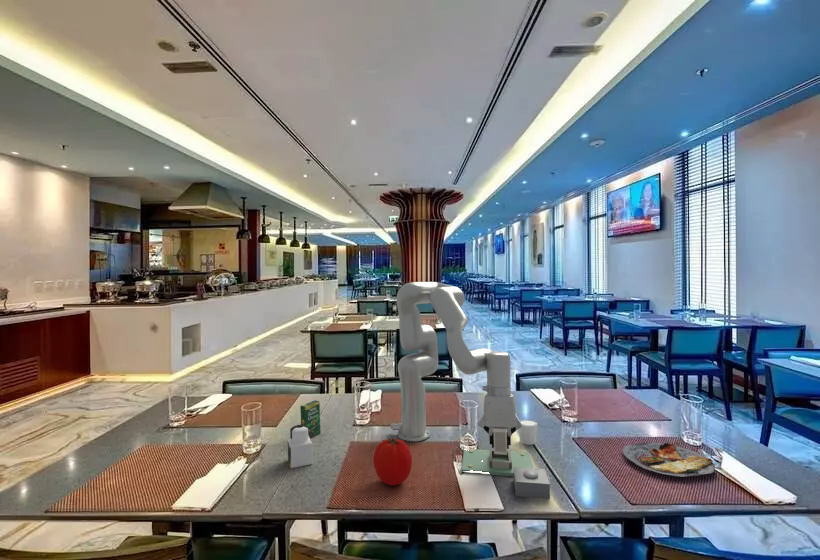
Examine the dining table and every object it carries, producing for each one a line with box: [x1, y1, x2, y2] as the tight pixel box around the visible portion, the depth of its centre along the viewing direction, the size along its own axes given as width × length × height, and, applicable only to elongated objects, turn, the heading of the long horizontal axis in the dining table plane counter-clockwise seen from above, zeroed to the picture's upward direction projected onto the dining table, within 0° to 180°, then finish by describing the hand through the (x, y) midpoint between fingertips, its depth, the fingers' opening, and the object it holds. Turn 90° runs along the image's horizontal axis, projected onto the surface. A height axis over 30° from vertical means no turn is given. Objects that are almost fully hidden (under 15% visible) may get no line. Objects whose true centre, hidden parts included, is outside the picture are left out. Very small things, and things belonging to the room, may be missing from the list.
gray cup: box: [518, 419, 538, 446], centre depth 149 cm, size 7×7×7 cm
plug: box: [493, 427, 508, 455], centre depth 130 cm, size 4×6×8 cm, turn 170°
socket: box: [488, 449, 512, 469], centre depth 130 cm, size 7×9×2 cm
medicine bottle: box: [287, 424, 313, 469], centre depth 135 cm, size 7×7×12 cm
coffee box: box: [299, 399, 321, 439], centre depth 158 cm, size 8×3×13 cm, turn 147°
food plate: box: [622, 441, 716, 478], centre depth 130 cm, size 25×23×4 cm
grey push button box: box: [513, 467, 551, 499], centre depth 115 cm, size 9×9×5 cm
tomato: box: [372, 437, 413, 486], centre depth 120 cm, size 12×12×13 cm
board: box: [461, 448, 534, 477], centre depth 132 cm, size 22×16×1 cm
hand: (500, 446), depth 130 cm, fingers closed on plug, 4 cm apart
